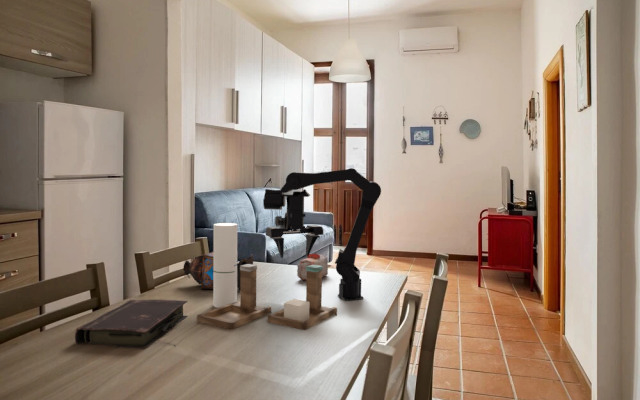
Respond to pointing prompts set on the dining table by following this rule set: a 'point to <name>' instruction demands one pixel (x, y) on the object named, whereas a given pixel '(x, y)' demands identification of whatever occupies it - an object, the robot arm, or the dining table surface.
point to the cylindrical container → (225, 264)
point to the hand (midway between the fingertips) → (294, 256)
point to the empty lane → (238, 304)
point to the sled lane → (312, 296)
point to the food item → (312, 260)
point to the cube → (296, 310)
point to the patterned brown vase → (209, 269)
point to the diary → (133, 324)
